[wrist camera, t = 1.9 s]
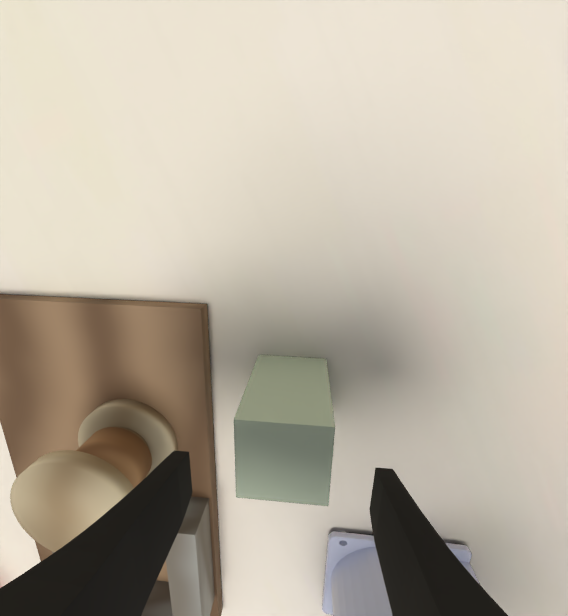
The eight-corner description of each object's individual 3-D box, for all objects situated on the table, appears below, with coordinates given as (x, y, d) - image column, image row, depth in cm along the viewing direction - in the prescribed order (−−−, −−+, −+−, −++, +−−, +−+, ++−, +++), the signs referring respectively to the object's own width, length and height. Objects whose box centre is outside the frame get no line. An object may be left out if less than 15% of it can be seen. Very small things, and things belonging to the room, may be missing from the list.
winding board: (206, 303, 17) (152, 346, 11) (222, 608, 24) (194, 729, 18) (-17, 293, 18) (-175, 326, 12) (62, 588, 25) (-12, 696, 19)
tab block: (326, 358, 17) (334, 427, 11) (322, 416, 18) (328, 506, 12) (258, 354, 17) (233, 419, 12) (258, 412, 18) (235, 497, 13)
